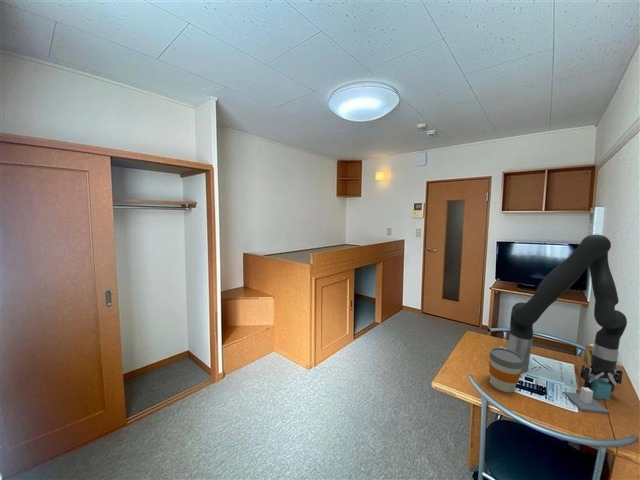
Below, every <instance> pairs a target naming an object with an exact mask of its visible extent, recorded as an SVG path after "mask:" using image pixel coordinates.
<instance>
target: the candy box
mask: <svg viewBox="0 0 640 480" xmlns="http://www.w3.org/2000/svg"><path fill="white" fill-rule="evenodd" d="M593 346H594V343H590V344H586V345H585V349H584V357H583V361H582V366H583V365H585V366H587V367H590V366H591V365H592V364H591V356H592V350H593ZM590 371H591V370H590ZM592 376H595V375H594V374H592ZM602 379H603V380H605V381H606V382H609V381H608V379H604V378H602Z"/></svg>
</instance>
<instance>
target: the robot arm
mask: <svg viewBox="0 0 640 480" xmlns="http://www.w3.org/2000/svg"><path fill="white" fill-rule="evenodd" d="M611 246H612V243H611V241H610V238H608V237H606V236H605V235H602V234H591V235H590V234H589V235H587V236H585V237H584V238H582V240H581V242H580V243H579V244H578V246H577V247H576V248H575V250H574V251H573V252H572V253H571V255H569V256H568V257H567V258H566V259H565V260H563V261H561V263H560V264H558V265H556V266H555V268H553V269H552V270H551V271H550V272H549V273H548V274H547V275H546V276H545V277H544V278H543V279H542V280H541V282H539V284H538V287H537V288H536V290H535V292H534V294H532V297H530V299H528V300H527V301H526V302H517V303H515V304H514V305H513V306H512V308H511V313H510V321H509V322H510V323H509V336H508V344H507V345H506V346H505V349H507V350H510V351H513V352H515V353H517V354H519V355H520V356H521V357H522V358H523V367H522V368H521V373H528V371H529V365H530V360H531V359H530V358H531V353H532V344H533V339H534V324H535V323H536V322H537V321H538V320H539V319H540V317H542V315H543V314H544V312H545V311H546V310H547V309H548V308H549V307H551V305H552V304H553V303H555V302H556V301H558V299H559V298H561V296H562V295H564V293H566V292H567V291H568V290H569V289H570V288H571V287H573V285H574V284H575V283H576V281H578V280H579V279H580V278H581V276H582V275H583V273H584V272H585V271H586V269H587V268H589V269H588V270H589V273H590V281H591V286H592V287H591V288H592V292H593V297H594V307H593V308H594V310H593V316H594V319H595V322H596V323H597V325H599V327H601V329H599V330H597V331H596V333H595V339H594V343H593V345H594V346H593V350H592V356H591V364H592V365H591V366H590V367H587V366H585V365H583V364H582V366H581V369H580V370H581V371H580V374H579V377H580V378H581V379H582V380H584V383H583V387H586V388H589V389H590V390H591V385H592V383H591V382H592V381H594V380H597V379H598V378H604V379H608V381H609V382H607V383H609V384H610V385H612V388H611V393H613V392H614V391H615V388H616V385H618V384H619V385H621V384H622V381H623V371H622V370H621V369H619V368H618V367H617V365H618V359H619V349H620V348H619V346H620V340H621V337H622V336H623V335H624V332H625V330H626V328H627V324H628V319H627V317H626V315H625V314H624V313H623V312H621V311H619V310H617V309H616V305H618V304H619V302H620V301H619V295H618V290H617V286H616V283H615V281H614V277H613V275H612V272H611V268H610V266H609V265H610V264H609V251H610V249H611ZM616 364H617V365H616ZM590 370H591V371H590ZM592 374H594V375H595V376H592ZM590 377H591V378H590ZM589 378H590V379H589Z"/></svg>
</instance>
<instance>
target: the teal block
mask: <svg viewBox="0 0 640 480" xmlns="http://www.w3.org/2000/svg"><path fill="white" fill-rule="evenodd" d="M590 378H591V377H590ZM590 378H589V379H590ZM591 383H592V385H591V390H592V391H593V397H592V398H594V399H597V400H598V399H599V400H606V401H607V400H608V401H609V400H610V397H611V393H612V392H611V388H612V385H610V384H609V383H607V382H606V381H605V380H603V379H602V378H598V379H597V380H594V381H592V382H591Z"/></svg>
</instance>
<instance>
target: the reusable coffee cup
mask: <svg viewBox="0 0 640 480" xmlns="http://www.w3.org/2000/svg"><path fill="white" fill-rule="evenodd" d="M488 366H489V367H488V368H489V374H490V384H491V385H492V387H493V388H495V389H497V390H498V391H501V392H503V393H513V392H515V389H516V386H517V383H519V381H520V378H521V374H522V372H521V368H522V367H523V358H522V357H521V356H520V355H519V354H517V353H515V352H513V351H510V350H507V349H506V348H502V347H493V348H491V349H490V352H489V361H488Z"/></svg>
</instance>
